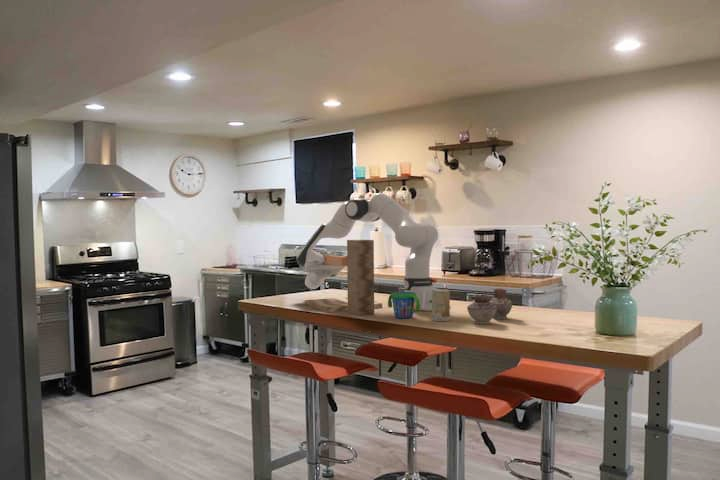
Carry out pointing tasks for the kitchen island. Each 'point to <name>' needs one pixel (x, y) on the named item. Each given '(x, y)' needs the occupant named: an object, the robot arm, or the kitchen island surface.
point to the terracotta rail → (336, 260)
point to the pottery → (490, 307)
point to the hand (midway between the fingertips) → (329, 258)
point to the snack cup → (403, 303)
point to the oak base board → (333, 304)
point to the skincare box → (440, 305)
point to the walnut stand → (360, 276)
